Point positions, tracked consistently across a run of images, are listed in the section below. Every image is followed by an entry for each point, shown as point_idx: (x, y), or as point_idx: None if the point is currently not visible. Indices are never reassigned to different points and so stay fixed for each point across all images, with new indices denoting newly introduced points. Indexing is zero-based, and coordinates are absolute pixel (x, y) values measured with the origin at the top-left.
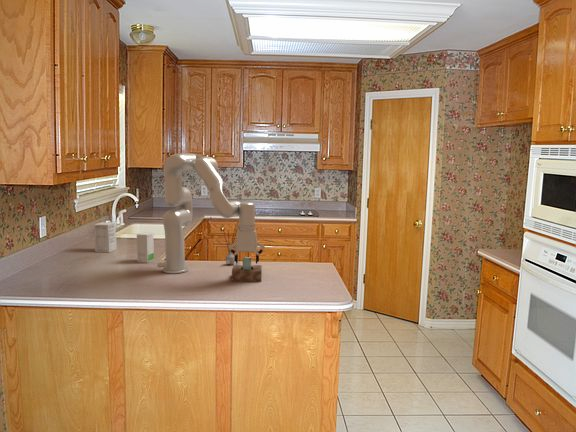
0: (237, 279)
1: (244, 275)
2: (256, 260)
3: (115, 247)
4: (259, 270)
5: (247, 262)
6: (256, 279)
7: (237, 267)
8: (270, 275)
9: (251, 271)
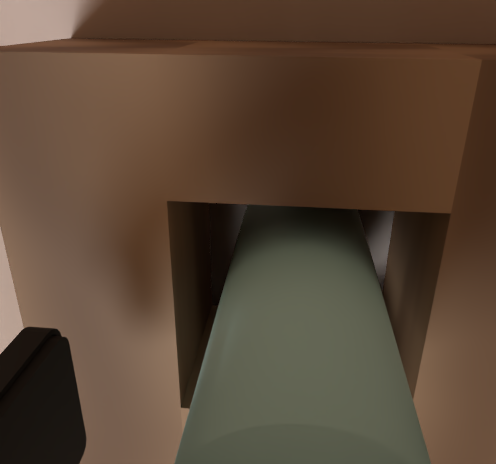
0: (481, 47)
1: (358, 51)
2: (4, 380)
3: None
4: (17, 117)
5: (285, 338)
6: (137, 41)
7: (489, 383)
8: (5, 339)
9: (195, 56)
